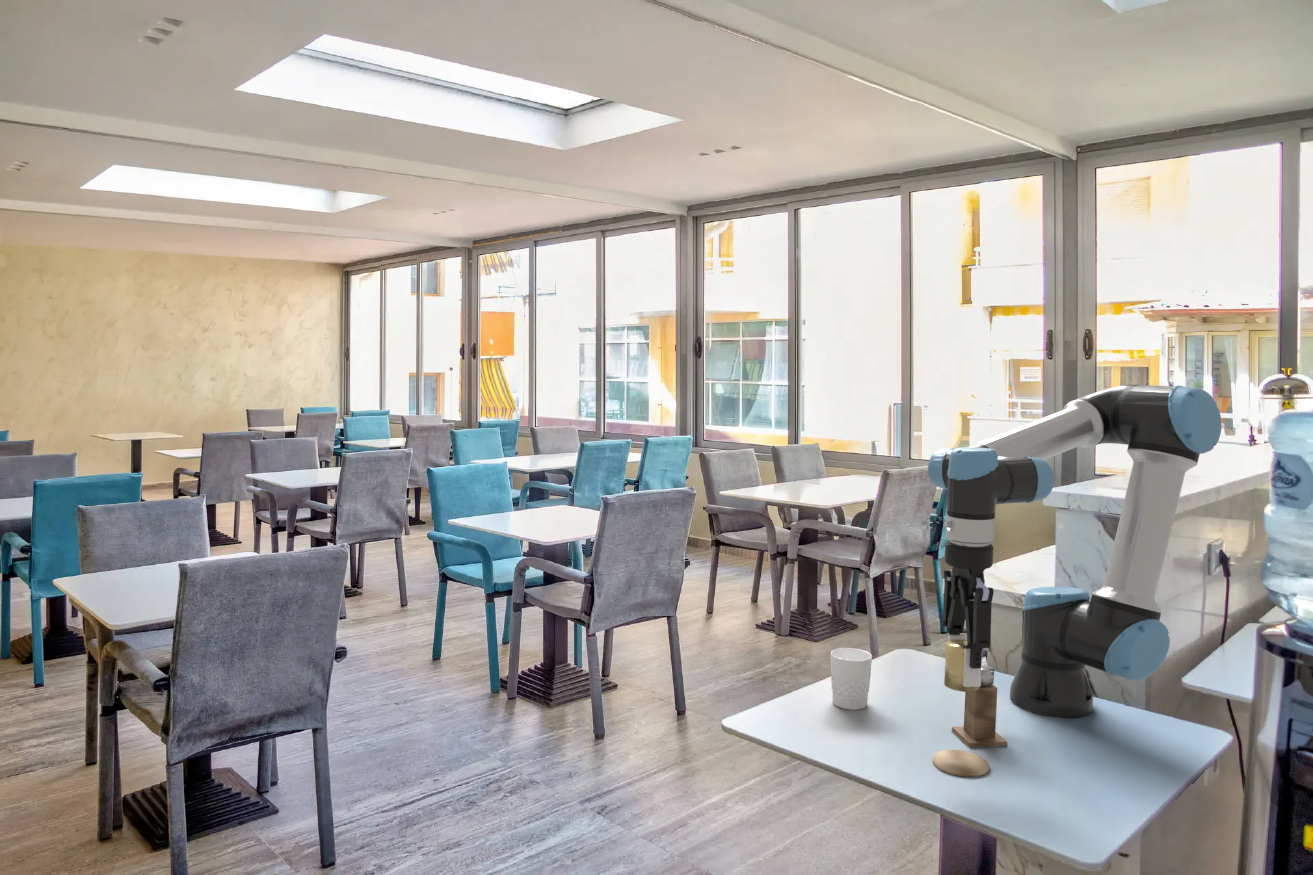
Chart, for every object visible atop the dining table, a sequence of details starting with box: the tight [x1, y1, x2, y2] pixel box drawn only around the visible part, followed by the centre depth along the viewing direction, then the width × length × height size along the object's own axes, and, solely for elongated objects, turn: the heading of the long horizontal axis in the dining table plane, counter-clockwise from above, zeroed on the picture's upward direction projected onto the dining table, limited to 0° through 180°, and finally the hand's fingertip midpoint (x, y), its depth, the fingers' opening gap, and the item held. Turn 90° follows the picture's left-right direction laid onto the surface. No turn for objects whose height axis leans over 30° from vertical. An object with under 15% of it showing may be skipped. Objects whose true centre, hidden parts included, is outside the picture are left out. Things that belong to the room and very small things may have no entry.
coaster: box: [932, 749, 990, 778], centre depth 155 cm, size 9×9×1 cm
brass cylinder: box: [943, 639, 980, 693], centre depth 154 cm, size 6×6×7 cm
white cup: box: [830, 647, 873, 711], centre depth 181 cm, size 8×8×10 cm
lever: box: [981, 648, 995, 686], centre depth 170 cm, size 16×4×2 cm, turn 164°
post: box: [951, 683, 1008, 748], centre depth 166 cm, size 7×7×10 cm
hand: (963, 678), depth 154 cm, fingers closed on brass cylinder, 5 cm apart
